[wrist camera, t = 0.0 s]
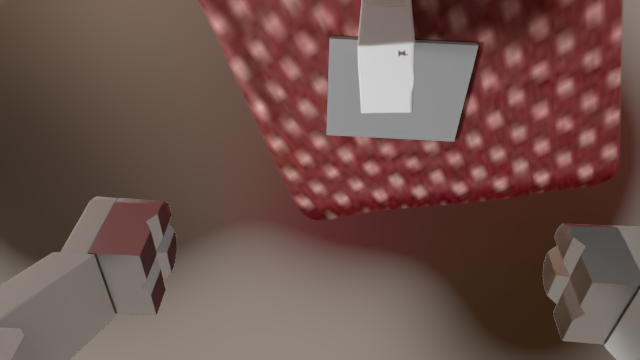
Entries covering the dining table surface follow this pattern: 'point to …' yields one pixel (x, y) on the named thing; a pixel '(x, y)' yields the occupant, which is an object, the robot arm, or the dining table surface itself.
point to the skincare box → (386, 56)
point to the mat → (428, 95)
